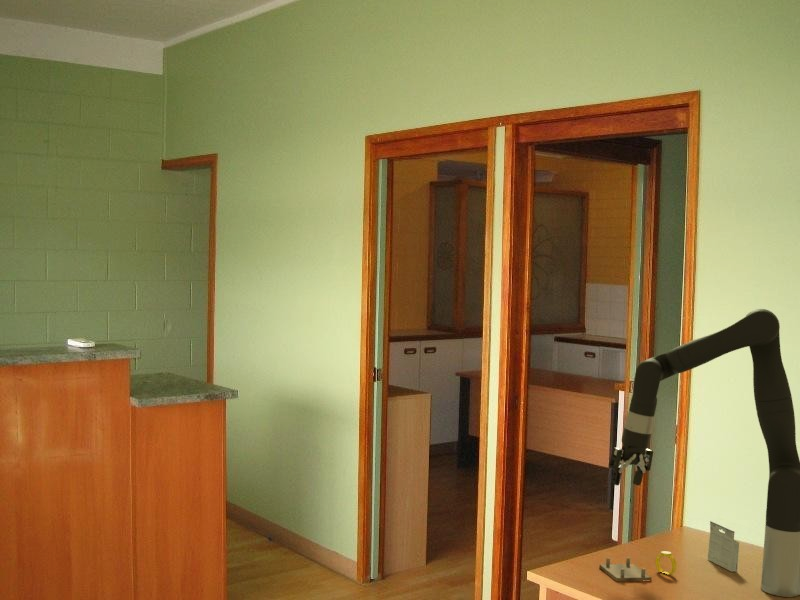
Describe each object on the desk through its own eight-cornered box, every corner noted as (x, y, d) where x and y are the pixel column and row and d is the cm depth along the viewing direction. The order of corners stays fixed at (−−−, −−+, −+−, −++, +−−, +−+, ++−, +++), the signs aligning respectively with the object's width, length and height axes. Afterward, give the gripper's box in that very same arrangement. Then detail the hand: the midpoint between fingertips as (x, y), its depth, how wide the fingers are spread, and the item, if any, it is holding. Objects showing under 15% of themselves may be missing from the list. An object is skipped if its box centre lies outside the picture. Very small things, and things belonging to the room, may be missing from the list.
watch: (677, 576, 254) (679, 554, 254) (670, 578, 252) (672, 556, 252) (659, 569, 259) (661, 548, 259) (653, 571, 257) (654, 550, 257)
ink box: (738, 572, 261) (741, 531, 260) (731, 572, 260) (734, 532, 260) (713, 559, 272) (716, 520, 271) (706, 559, 271) (709, 520, 271)
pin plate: (632, 567, 260) (633, 556, 259) (651, 581, 249) (652, 570, 249) (599, 568, 257) (600, 557, 257) (616, 581, 247) (617, 570, 247)
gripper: (630, 432, 253) (617, 489, 255) (665, 433, 261) (653, 489, 262) (610, 424, 259) (598, 480, 261) (645, 425, 267) (633, 480, 269)
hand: (626, 484), depth 262 cm, fingers open, 8 cm apart
